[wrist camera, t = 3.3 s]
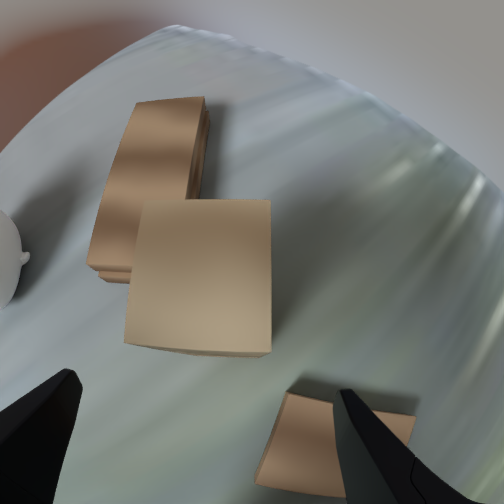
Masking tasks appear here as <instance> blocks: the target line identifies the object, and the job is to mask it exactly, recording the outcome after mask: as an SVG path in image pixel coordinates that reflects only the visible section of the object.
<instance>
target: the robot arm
mask: <svg viewBox="0 0 504 504" xmlns="http://www.w3.org/2000/svg"><path fill="white" fill-rule="evenodd" d="M82 391H83V387H82V384H81V382H80V380H79V378H78V376H77V374H76V372H75V371H74V370H70V369H63V370H61V371H60V372H58V373H57V374H55V375H54V376H52V377H51V378H49V379H48V380H46V381H45V382H43V383H42V384H40V385H39V386H37V387H36V388H34V389H33V390H32V391H30V392H29V393H27V394H26V395H24V396H23V397H21V398H20V399H18V400H17V401H15V402H14V403H12V404H11V405H9V406H8V407H7V408H5V409H4V410H2V411H1V412H0V504H53V501H54V496H55V492H56V488H57V484H58V480H59V476H60V472H61V468H62V465H63V461H64V457H65V454H66V451H67V447H68V444H69V441H70V438H71V435H72V431H73V428H74V425H75V421H76V417H77V412H78V408H79V403H80V399H81V395H82ZM333 419H334V430H335V442H336V450H337V455H338V460H339V465H340V470H341V474H342V479H343V484H344V489H345V494H346V499H347V504H483V503H478V502H474V501H472V500H470V499H468V498H466V497H464V496H463V495H462V494H460V493H459V492H457V491H456V490H455V489H453V488H452V487H451V486H449V485H448V484H447V483H445V482H444V481H443V480H441V479H440V478H439V477H438V476H437V475H435V474H434V473H433V472H432V471H431V470H430V469H429V468H428V467H426V466H425V465H424V464H423V463H422V462H421V461H420V460H419V459H418V458H417V457H415V455H414V454H413V453H412V452H411V451H410V450H409V449H408V448H407V447H406V446H405V444H404V443H403V442H402V441H401V440H400V439H399V438H398V437H397V436H396V435H395V434H394V433H393V432H392V431H391V430H390V429H389V428H388V427H387V426H386V425H385V424H384V423H383V422H382V421H381V420H380V419H379V418H378V416H377V415H376V414H375V413H374V412H373V411H372V410H371V409H370V408H369V407H368V406H367V405H366V404H365V403H364V402H363V401H362V400H361V399H360V398H359V396H358V395H357V394H356V393H355V392H354V391H353V390H352V389H340V390H338V392H337V395H336V397H335V400H334V403H333Z"/></svg>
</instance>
